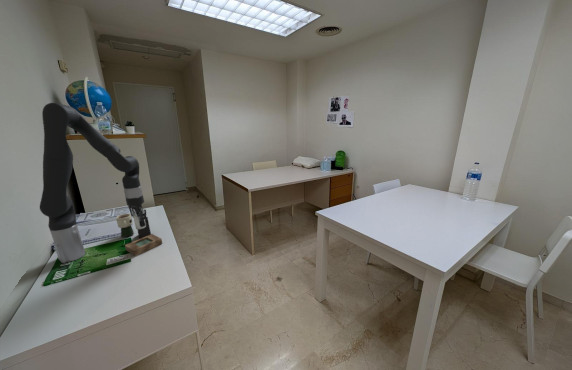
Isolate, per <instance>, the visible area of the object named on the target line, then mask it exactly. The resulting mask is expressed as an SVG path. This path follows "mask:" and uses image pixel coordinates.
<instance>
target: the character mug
mask: <svg viewBox="0 0 572 370" xmlns="http://www.w3.org/2000/svg"><path fill="white" fill-rule="evenodd" d="M115 219H116V223H117V227H118V228H119V229H120V236H121V237H122V238H123V237H124V238H125V237H131V236H133V235H134V234H135V233H134V229H133V227H132V225H133V223H134V222H133V217H132V216H131V213H123V214H119V215H117V216H116V217H115Z"/></svg>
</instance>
